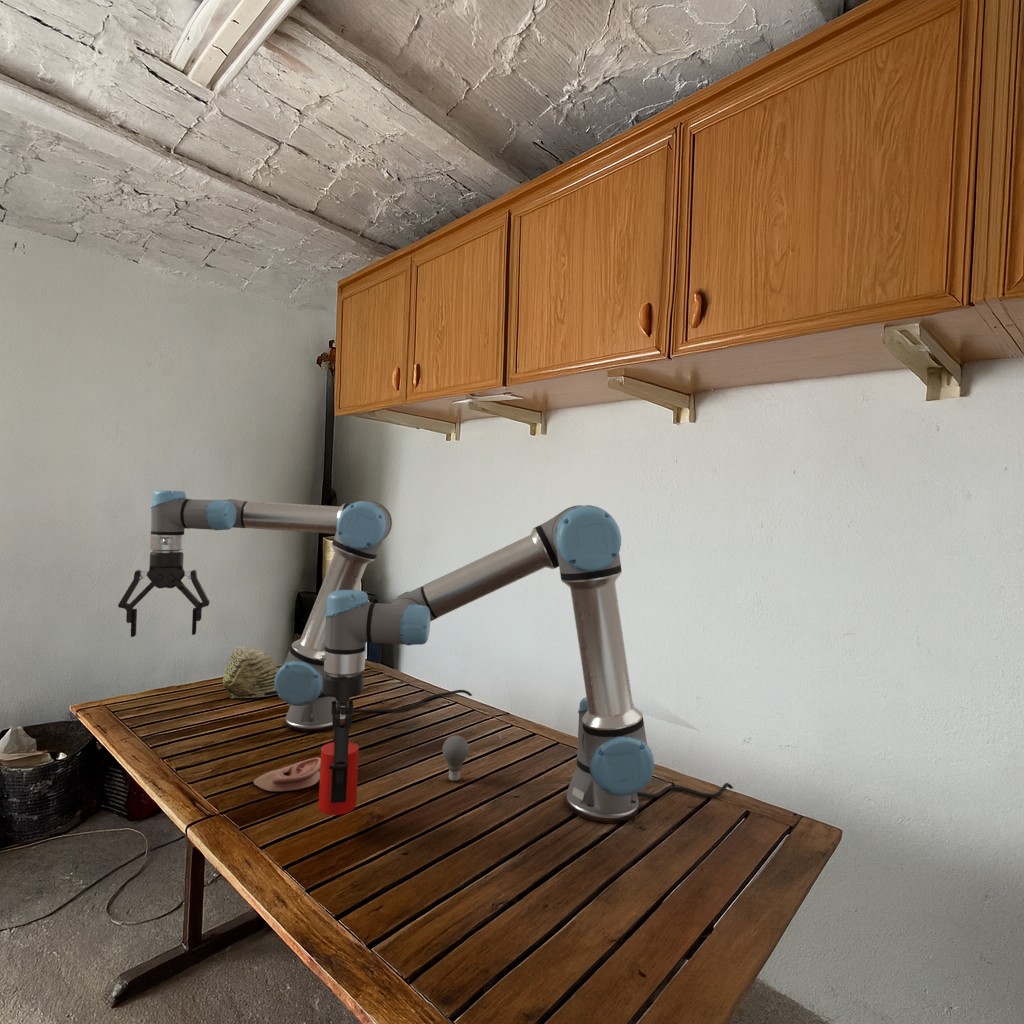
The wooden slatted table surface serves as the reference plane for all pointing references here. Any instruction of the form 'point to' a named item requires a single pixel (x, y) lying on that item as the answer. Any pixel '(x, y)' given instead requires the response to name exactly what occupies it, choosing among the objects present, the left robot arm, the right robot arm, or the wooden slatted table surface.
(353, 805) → the canister
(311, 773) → the anatomical model
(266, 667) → the fossil
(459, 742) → the light bulb
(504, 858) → the wooden slatted table surface
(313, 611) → the left robot arm
